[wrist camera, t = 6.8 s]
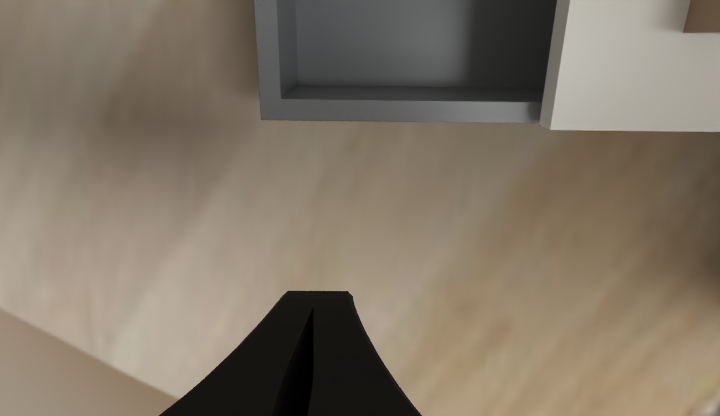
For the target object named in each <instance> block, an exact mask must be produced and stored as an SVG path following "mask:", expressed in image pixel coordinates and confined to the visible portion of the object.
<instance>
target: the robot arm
mask: <svg viewBox="0 0 720 416" xmlns="http://www.w3.org/2000/svg"><path fill="white" fill-rule="evenodd" d="M159 416H422V415H421V414H420V413H419V412H418V410H417V409H416V408H415V407H414V405H413V404H412V403H411V402H410V400H409V399H408V398H407V396H406V395H405V394H404V392H403V391H402V390H401V388H400V387H399V386H398V384H397V383H396V381H395V380H394V378H393V377H392V375H391V374H390V372H389V371H388V369H387V368H386V366H385V365H384V363H383V361H382V360H381V358H380V357H379V355H378V353H377V351H376V350H375V348H374V346H373V344H372V342H371V341H370V339H369V337H368V335H367V333H366V331H365V329H364V327H363V325H362V323H361V321H360V318H359V316H358V314H357V311H356V308H355V305H354V301H353V296H352V295H351V294H350V293H349V292H348V291H287V292H286V293H285V294H284V295H283V296H282V297H281V298H280V300H279V301H278V302H277V303H276V304H275V306H274V307H273V308H272V309H271V310H270V312H269V313H268V314H267V315H266V316H265V317H264V319H263V320H262V321H261V322H260V323H259V324H258V325H257V326H256V328H255V329H254V330H253V331H252V332H251V333H250V334H249V335H248V336H247V337H246V338H245V339H244V340H243V341H242V342H241V343H240V345H239V346H238V347H237V348H236V349H235V350H234V351H233V352H232V353H231V354H230V355H229V356H228V357H227V358H225V359H224V360H223V361H222V362H221V363H220V364H219V365H218V366H217V367H216V368H215V369H214V370H213V371H212V372H211V373H210V374H209V375H207V376H206V377H205V378H204V379H203V380H202V381H201V382H200V383H199V384H197V385H196V386H195V387H194V388H193V389H192V390H191V391H189V392H188V393H187V394H186V395H185V396H183V397H182V398H181V399H180V400H178V401H177V402H176V403H174V404H173V405H172V406H171V407H169V408H168V409H167V410H165V411H164V412H163V413H162V414H160V415H159Z"/></svg>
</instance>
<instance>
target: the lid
mask: <svg viewBox="0 0 720 416" xmlns="http://www.w3.org/2000/svg"><path fill="white" fill-rule="evenodd" d="M539 125H540V126H542V127H545V128H547V129H549V130H590V131H677V132H720V0H557V5H556V12H555V19H554V25H553V32H552V39H551V46H550V53H549V60H548V67H547V74H546V80H545V87H544V94H543V101H542V108H541V115H540V122H539Z"/></svg>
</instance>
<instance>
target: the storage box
mask: <svg viewBox="0 0 720 416" xmlns="http://www.w3.org/2000/svg"><path fill="white" fill-rule="evenodd" d="M556 5H557V0H254V10H255V27H256V44H257V61H258V78H259V95H260V112H261V120H303V121H389V122H474V123H539V122H540V115H541V108H542V101H543V94H544V87H545V80H546V74H547V67H548V60H549V53H550V46H551V39H552V32H553V25H554V19H555V12H556Z"/></svg>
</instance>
